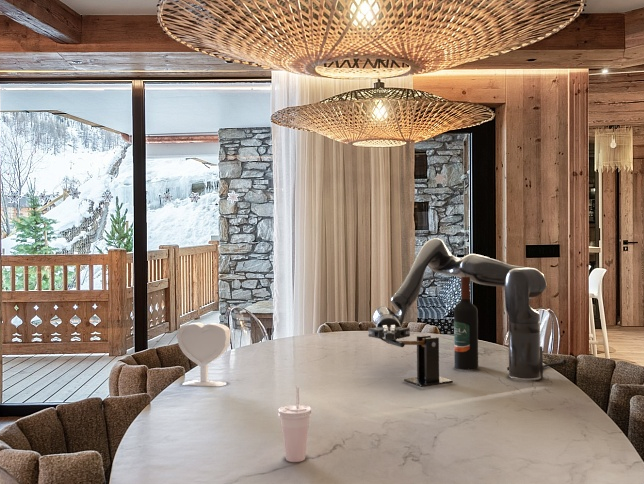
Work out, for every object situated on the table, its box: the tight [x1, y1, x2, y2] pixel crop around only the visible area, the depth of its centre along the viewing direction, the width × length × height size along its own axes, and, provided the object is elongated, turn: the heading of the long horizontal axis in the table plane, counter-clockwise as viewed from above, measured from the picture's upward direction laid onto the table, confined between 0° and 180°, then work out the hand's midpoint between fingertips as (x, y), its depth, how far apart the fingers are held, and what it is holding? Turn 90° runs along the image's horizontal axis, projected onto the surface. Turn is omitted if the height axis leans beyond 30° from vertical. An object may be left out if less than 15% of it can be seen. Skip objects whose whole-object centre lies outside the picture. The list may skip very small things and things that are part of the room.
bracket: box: [403, 334, 453, 388], centre depth 177 cm, size 11×9×14 cm
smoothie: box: [278, 386, 312, 463], centre depth 118 cm, size 6×6×14 cm
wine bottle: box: [453, 277, 479, 371], centre depth 196 cm, size 8×8×30 cm
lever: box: [385, 338, 425, 348], centre depth 175 cm, size 13×8×2 cm, turn 118°
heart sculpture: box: [176, 322, 232, 387], centre depth 180 cm, size 16×5×18 cm, turn 79°
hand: (389, 336), depth 171 cm, fingers closed
